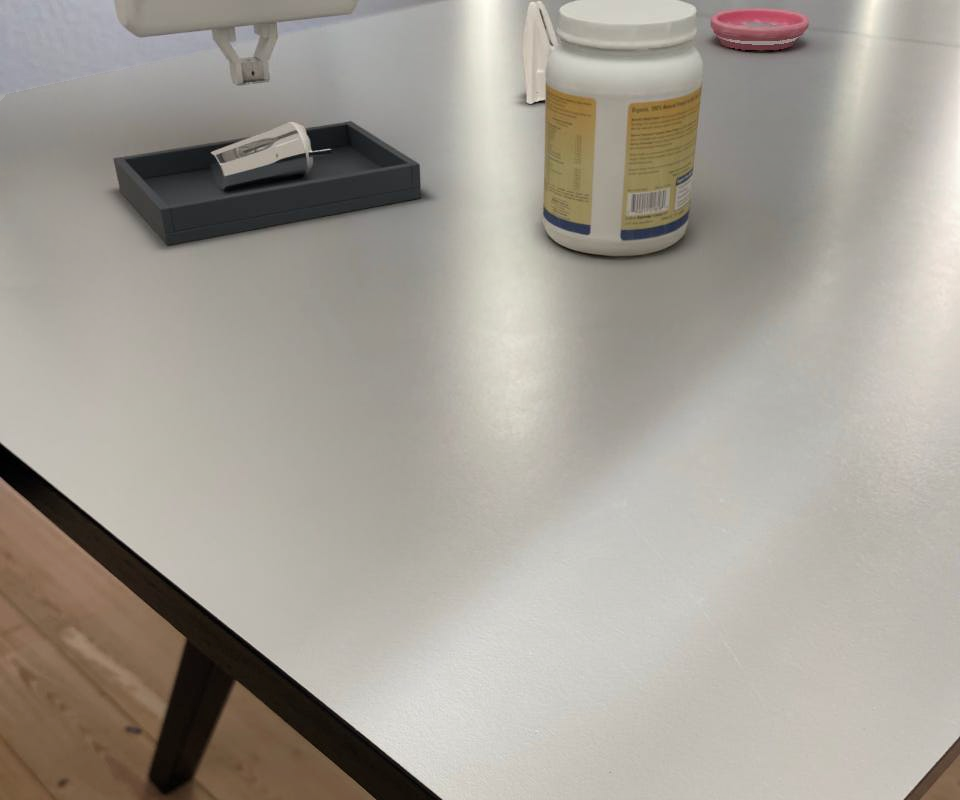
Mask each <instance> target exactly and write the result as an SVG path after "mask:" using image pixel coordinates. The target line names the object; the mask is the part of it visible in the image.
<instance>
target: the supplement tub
mask: <svg viewBox="0 0 960 800" xmlns="http://www.w3.org/2000/svg"><path fill="white" fill-rule="evenodd" d="M697 12H698V11H697V8H696V7H695V6H694V5H693V4H690V3H688V2H685V1H682V0H574V1H570V2H568V3H565V4H563V5H562V6H561V7H559V10H558V26H557V28H556V35H557V37H558V38H559V39H560V41H561V42H560V43H558V46H557V47H556V48H555V49H554V50H553V51H552V53H551V54H550V56H549V58H548V61H547V65H546V72H545V77H546V88H545V100H544V113H545V114H544V163H543V165H544V167H543V199H542V200H543V202H542V203H543V205H542V222H543V227H544V229H545V231H546V233H547V235H548V236H549V237H550V239H552V240H553V241H554V242H555V243H557V244H559V245H560V246H562V247H565V248H567V249H569V250H573V251H576V252H579V253H585V254H589V255H599V256H608V257H633V256H641V255H646V254H647V255H648V254H652V253H656V252H659V251H662V250H665V249H667V248H668V247H669V248H670V247H671V246H673V245H674V244H676V243H677V242H678V241H680V240H681V238H683V236H684V235H685V234H686V231H687V229H686V228H688V223H689V220H690V209H691V197H692V187H693V177H694V168H695V167H694V166H695V157H696V147H697V139H698V138H697V137H698V127H699V118H700V110H701V99H702V90H703V89H702V87H703V80H704V61H703V59H702V56H701V53H700V52H699V50H698V49H697V48H696V47H695V46H694V45H693V44H691V43H692V42H693V39H694V38H696V36H697V34H698V28H697V26H696V25H697ZM685 230H686V231H685ZM684 231H685V232H684ZM683 232H684V233H683ZM682 233H683V234H682ZM681 234H682V235H681ZM679 235H681V236H679ZM678 236H679V237H678ZM677 237H678V238H677ZM675 238H676V239H675ZM673 239H674V240H673ZM670 240H672V241H670ZM668 241H669V242H668Z"/></svg>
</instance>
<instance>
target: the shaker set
mask: <svg viewBox="0 0 960 800" xmlns="http://www.w3.org/2000/svg"><path fill="white" fill-rule="evenodd" d="M525 17H526V18H525V22H524V31H523V38H522V39H523V40H522V59H523V69H524V80H525V89H526V100H525V101H526V104H529V105H530V104H531V105H532V104H534V103H535V102H536V103H537V102H539V101H545V88H546V77H545V72H546V65H547V61H548V58H549V56H550V54H551V53H552V51H553V50H554V49H555V48H556V47H557V46H558V45H559V43H558V42H559V41H558V39H557V36H556V33H555V30H554V26H553V23H552V21H551V17H550V14H549V12H548V10H547V8H546V6H545V4H544V2H543V1H541V0H537V1H536V2H535V1H530V2H529V3H528V8H527V12H526V16H525ZM537 92H538V93H537Z"/></svg>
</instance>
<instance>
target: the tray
mask: <svg viewBox="0 0 960 800" xmlns="http://www.w3.org/2000/svg"><path fill="white" fill-rule="evenodd" d="M304 128H305V129H306V134H307V136H308V137H309V139H310V145H311V150H312V151H320V150H327V149H331V152H332V154H330V155H323V156H316V157H313V165H312V167H311V169H310V171H309V172H308V173H307V174H305V175H300V176H294V177H288V178H283V179H277V180H272V181H268V182H263V183H258V184H253V185H248V186H244V187H239V188H234V189H229V190H222V189H221V188H220V187H219V186H218V184H217V182H216V181H215V179H214V176H213V173H212V170H211V167H210V159H209V156H210V154H211V152H212V151H215V150H218V149H220V148H223V147H226V146H229V145H231V144H234V143H237V142H239V141H242V140H245V139H248V138H250V137H251V136H247V137H241V138H235V139H228V140H222V141H216V142H215V141H214V142H209V143H203V144H196V145H190V146H184V147H178V148H177V147H176V148H171V149H165V150H158V151H152V152H144V153H140V154H131V155H126V156H120V157H119V156H118V157H114V158H112V159H113V164H114V168H115V173H116V178H117V183H118V187H119V192H120V193H121V194H122V195H123V196H124V197H125V198H126V200H127V201H128V202H129V203H130V204H131V205H132V207H133V208H134V209H135V210H136V211H137V212H138V213H139V214H140V216H141V217H142V218H143V219H144V220H145V221H146V223H147V224H148V225H149V226H150V228H151V229H153V230H154V232H155V233H156V234H157V235H158V236H159V237H160V239H161V240H162V241H163V242H164V243H165V244H166V245H167V246H172V245H178V244H182V243H188V242H189V243H190V242H192V241H193V242H194V241H199V240H204V239H205V240H206V239H209V238H216V237H219V236H226V235H230V234H236V233H241V232H246V231H252V230H258V229H263V228H268V227H274V226H279V225H284V224H290V223H294V222H300V221H306V220H311V219H316V218H321V217H327V216H332V215H337V214H342V213H348V212H354V211H359V210H364V209H370V208H375V207H381V206H385V205H392V204H396V203H402V202H407V201H412V200H417V199H421V198H422V190H421V187H422V186H421V164H420V163H419V162H417V161H415V160H414V159H412V158H411V157H409V156H408V155H406V154H404V153H403V152H402V151H399V150H398V149H396V148H394V147H393V146H392V145H390V144H388V143H387V142H386V141H384V140H382V139H380V138H379V137H378V136H376V135H374V134H373V133H370V131H368V130H366V129H365V128H363V127H362V126H360V125H358V124H357V123H355V122H353V121H352V120H349V121H343V122H337V123H336V122H335V123H331V124H324V125H319V126H312V127H304Z"/></svg>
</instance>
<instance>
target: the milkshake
mask: <svg viewBox="0 0 960 800" xmlns="http://www.w3.org/2000/svg"><path fill="white" fill-rule="evenodd" d="M305 128H306V127H304V125H301V124H300V123H298V122H295V121H288V122H286V123H284V124H281V125H279V126H276V127H274V128H271V129H269V130H266V131H264V132H262V133H259V134H256V135H253V136H249V137H250V138H248V139H245V140H242V141H239V142H237V143H234V144H231V145H229V146H226V147H223V148H220V149H218V150H215V151H212V152H211V154H210V156H209V159H210V167H211V170H212V173H213V176H214V179H215V181H216V182H217V184H218V186H219V187H220V188H221V189H222V190H229V189H234V188H239V187H244V186H248V185H253V184H258V183H263V182H268V181H272V180H277V179H283V178H288V177H294V176H300V175H305V174H307V173H308V172H309V171H310V169H311V167H312V165H313V157H316V156H323V155H330V154H332V152H331V149H327V150H320V151H312V150H311V145H310V139H309V137H308V136H307V134H306V129H305Z"/></svg>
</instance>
